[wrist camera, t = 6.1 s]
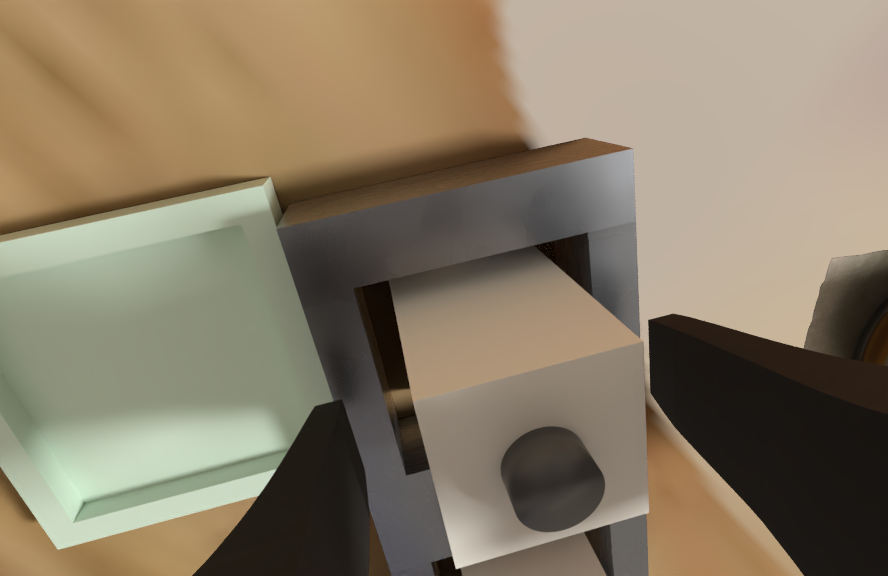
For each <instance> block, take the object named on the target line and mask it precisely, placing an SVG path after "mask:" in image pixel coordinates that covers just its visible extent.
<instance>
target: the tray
mask: <svg viewBox="0 0 888 576" xmlns="http://www.w3.org/2000/svg"><path fill="white" fill-rule="evenodd" d="M282 217H283V214H282V211H281V208H280V205H279V202H278V199H277V196H276V193H275V190H274V186H273V183H272V180H271V177H266V178H262V179H257V180H253V181H248V182H243V183H239V184H234V185H230V186H225V187H220V188H216V189H211V190H206V191H202V192H197V193H193V194H188V195H183V196H179V197H174V198H170V199H165V200H160V201H156V202H151V203H147V204H142V205H137V206H133V207H128V208H123V209H119V210H114V211H110V212H105V213H100V214H96V215H91V216H87V217H82V218H77V219H73V220H68V221H64V222H59V223H54V224H50V225H45V226H40V227H36V228H31V229H27V230H22V231H17V232H13V233H8V234H4V235H0V467H1V469H2V470H3V472H4V473H5V475H6V476H7V477H8V479H9V480H10V482H11V483H12V485H13V486H14V487H15V489H16V490H17V492H18V493H19V495H20V496H21V497H22V499H23V500H24V502H25V503H26V505H27V506H28V507H29V509H30V510H31V512H32V513H33V515H34V516H35V517H36V519H37V520H38V522H39V523H40V525H41V526H42V528H43V529H44V530H45V532H46V533H47V535H48V536H49V538H50V539H51V540H52V542H53V543H54V545H55V546H56V548H57V549H58V550H59V549H62V548H66V547H70V546H73V545H77V544H81V543H85V542H88V541H92V540H96V539H99V538H103V537H107V536H111V535H114V534H118V533H122V532H125V531H129V530H133V529H137V528H140V527H144V526H148V525H151V524H155V523H159V522H163V521H166V520H170V519H174V518H177V517H181V516H185V515H189V514H192V513H196V512H200V511H203V510H207V509H211V508H215V507H218V506H222V505H226V504H229V503H233V502H237V501H241V500H244V499H248V498H252V497H255V496H259V495H260V493H261V492H262V490H263V489H264V487H265V486H266V485H267V483H268V482H269V480H270V479H271V477H272V476H273V474H274V473H275V471H276V469H277V468H278V466H279V465H280V463H281V461H282V460H283V458H284V457H285V455H286V453H287V452H288V450H289V449H290V447H291V445H292V443H293V442H294V440H295V438H296V437H297V435H298V433H299V432H300V430H301V428H302V426H303V425H304V423H305V421H306V419H307V418H308V416H309V414H310V413H311V411H312V410H313V408H314V407H315V406H317V405H321V404H325V403H329V402H333V398H332V395H331V392H330V389H329V386H328V383H327V380H326V377H325V374H324V371H323V368H322V365H321V362H320V359H319V356H318V353H317V350H316V347H315V344H314V341H313V338H312V335H311V332H310V329H309V326H308V323H307V320H306V317H305V314H304V311H303V308H302V305H301V302H300V299H299V296H298V293H297V290H296V287H295V284H294V281H293V278H292V275H291V272H290V269H289V266H288V263H287V260H286V257H285V254H284V251H283V248H282V245H281V242H280V239H279V236H278V233H277V230H276V229H277V227H278V225H279V223H280V221H281V219H282Z"/></svg>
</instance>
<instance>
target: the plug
mask: <svg viewBox="0 0 888 576" xmlns="http://www.w3.org/2000/svg"><path fill="white" fill-rule="evenodd" d="M389 284H390V289H391V294H392V299H393V304H394V309H395V314H396V319H397V324H398V329H399V334H400V339H401V344H402V349H403V354H404V359H405V364H406V369H407V374H408V380H409V385H410V390H411V395H412V400H413V404H414V408H415V412H416V416H417V420H418V424H419V427H420V431H421V435H422V439H423V443H424V447H425V451H426V455H427V459H428V462H429V466H430V470H431V474H432V478H433V482H434V486H435V490H436V494H437V497H438V501H439V505H440V509H441V513H442V517H443V521H444V525H445V529H446V532H447V536H448V540H449V544H450V548H451V552H452V556H453V560H454V564H455V567H456V569H458V568H462V567H465V566H469V565H472V564H475V563H479V562H482V561H486V560H489V559H493V558H496V557H499V556H503V555H506V554H510V553H513V552H516V551H520V550H523V549H527V548H530V547H534V546H537V545H540V544H544V543H547V542H551V541H554V540H557V539H561V538H564V537H568V536H571V535H575V534H578V533H581V532H585V531H588V530H592V529H595V528H598V527H602V526H605V525H609V524H612V523H616V522H619V521H622V520H626V519H629V518H633V517H636V516H639V515H643V514H646V513H649V501H648V470H647V440H646V409H645V379H644V348H643V341H642V340H641V339H640V338H639V337H638V336H637V335H635V334H634V333H633V332H632V331H631V330H630V329H629V328H627V327H626V326H625V325H624V324H623V323H622V322H621V321H619V320H618V319H617V318H616V317H615V316H614V315H613V314H611V313H610V312H609V311H608V310H607V309H606V308H605V307H603V306H602V305H601V304H600V303H599V302H598V301H597V300H595V299H594V298H593V297H592V296H591V295H590V294H589V293H587V292H586V291H585V290H584V289H583V288H582V287H581V286H579V285H578V284H577V283H576V282H575V281H574V280H573V279H571V278H570V277H569V276H568V275H567V274H566V273H565V272H563V271H562V270H561V269H560V268H559V267H558V266H557V265H555V264H554V263H553V262H552V261H551V260H550V259H549V258H547V257H546V256H545V255H544V254H543V253H542V252H541V251H539V250H538V249H537V248H536V247H535V246H534V245H533V246H529V247H525V248H521V249H517V250H512V251H508V252H504V253H500V254H496V255H491V256H487V257H483V258H479V259H475V260H470V261H466V262H462V263H458V264H454V265H449V266H445V267H441V268H437V269H433V270H429V271H424V272H420V273H416V274H412V275H408V276H403V277H399V278H395V279H391V280H389Z"/></svg>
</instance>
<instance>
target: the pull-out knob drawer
mask: <svg viewBox="0 0 888 576" xmlns="http://www.w3.org/2000/svg"><path fill="white" fill-rule="evenodd" d="M461 572H462V576H607V575H606V573H605V571H604V569H603V568H602V566H601V564H600V562H599V560H598V558H597V556H596V554H595V552H594V550H593V548H592V547H591V545H590V543H589V541H588V539H587V537H586V535H585V533H584V532H581V533H578V534H575V535H571V536H568V537H564V538H561V539H557V540H554V541H551V542H547V543H544V544H540V545H537V546H534V547H530V548H527V549H523V550H520V551H516V552H513V553H510V554H506V555H503V556H499V557H496V558H493V559H489V560H486V561H482V562H479V563H475V564H472V565H469V566H465V567H462V568H461Z"/></svg>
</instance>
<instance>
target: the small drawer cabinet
mask: <svg viewBox="0 0 888 576" xmlns="http://www.w3.org/2000/svg"><path fill="white" fill-rule="evenodd" d="M276 230H277V233H278V236H279V239H280V242H281V245H282V248H283V251H284V254H285V257H286V260H287V263H288V266H289V269H290V272H291V275H292V278H293V281H294V284H295V287H296V290H297V293H298V296H299V299H300V302H301V305H302V308H303V311H304V314H305V317H306V320H307V323H308V326H309V329H310V332H311V335H312V338H313V341H314V344H315V347H316V350H317V353H318V356H319V359H320V362H321V365H322V368H323V371H324V374H325V377H326V380H327V383H328V386H329V389H330V392H331V395H332V398H333V401H337V400H340V399H342V400H343V403H344V406H345V409H346V413H347V416H348V419H349V422H350V425H351V428H352V431H353V434H354V437H355V440H356V444H357V447H358V450H359V453H360V456H361V459H362V462H363V465H364V468H365V474H366V483H367V492H368V502H369V509H370V512H371V515H372V518H373V521H374V524H375V527H376V530H377V533H378V536H379V539H380V542H381V545H382V548H383V551H384V554H385V557H386V560H387V563H388V566H389V569H390V572H391V575H392V576H441V573H440V569H439V566H438V562H437V561H438V560H441V559H444V558H448V557H451V556H452V552H451V548H450V544H449V540H448V536H447V532H446V529H445V525H444V521H443V517H442V513H441V509H440V505H439V501H438V497H437V494H436V490H435V486H434V482H433V478H432V474H431V470H430V466H429V462H428V459H427V455H426V451H425V447H424V443H423V439H422V435H421V431H420V427H419V424H418V420H417V416H416V415H414V416H410V417H406V418H402V419H398V417H397V413H396V410H395V406H394V402H393V399H392V395H391V392H390V388H389V384H388V381H387V377H386V373H385V370H384V366H383V363H382V359H381V355H380V352H379V348H378V344H377V341H376V337H375V333H374V330H373V326H372V323H371V319H370V315H369V312H368V308H367V304H366V301H365V297H364V294H363V290H362V286H366V285H370V284H374V283H378V282H382V281H387V280H391V279H395V278H399V277H403V276H408V275H412V274H416V273H420V272H424V271H429V270H433V269H437V268H441V267H445V266H449V265H454V264H458V263H462V262H466V261H470V260H475V259H479V258H483V257H487V256H491V255H496V254H500V253H504V252H508V251H512V250H517V249H521V248H525V247H529V246H533V245H537V244H542V243H546V242H550V241H553V245H554V255H555V264H556V265H557V266H558V267H559V268H560V269H561V270H562V271H563V272H565V273H566V274H567V275H568V276H569V277H570V278H571V279H573V280H574V281H575V282H576V283H577V284H578V285H579V286H581V287H582V288H583V289H584V290H585V291H586V292H587V293H589V294H590V295H591V296H592V297H593V298H594V299H595V300H597V301H598V302H599V303H600V304H601V305H602V306H603V307H605V308H606V309H607V310H608V311H609V312H610V313H611V314H613V315H614V316H615V317H616V318H617V319H618V320H619V321H621V322H622V323H623V324H624V325H625V326H626V327H627V328H629V329H630V330H631V331H632V332H633V333H634V334H635V335H637V336H638V337H639V338H640V323H639V299H638V298H639V295H638V267H637V241H636V240H637V239H636V212H635V183H634V155H633V148H629V147H624V146H620V145H615V144H611V143H606V142H602V141H597V140H593V139H589V138H583V139H578V140H574V141H569V142H565V143H560V144H556V145H551V146H546V147H542V148H537V149H533V150H528V151H524V152H519V153H515V154H510V155H506V156H501V157H497V158H492V159H488V160H483V161H479V162H474V163H470V164H465V165H461V166H456V167H452V168H447V169H443V170H438V171H434V172H429V173H425V174H420V175H416V176H411V177H407V178H402V179H398V180H393V181H389V182H384V183H380V184H375V185H371V186H366V187H362V188H357V189H353V190H348V191H344V192H339V193H335V194H330V195H326V196H321V197H317V198H312V199H308V200H303V201H299V202H294V203H290V204H289V205H288V207H287V209H286V211H285V213H284V215H283V217H282V219H281V221H280V223H279V225H278V227H277V229H276ZM584 533H585V535H586V537H587V539H588V541H589V543H590V545H591V547H592V548H593V550H594V552H595V554H596V556H597V558H598V560H599V562H600V564H601V566H602V568H603V569H604V571H605V573H606V575H607V576H649V575H648V547H647V519H646V514H643V515H639V516H636V517H633V518H629V519H626V520H622V521H619V522H616V523H612V524H609V525H605V526H602V527H598V528H595V529H592V530H588V531H585V532H584Z"/></svg>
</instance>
